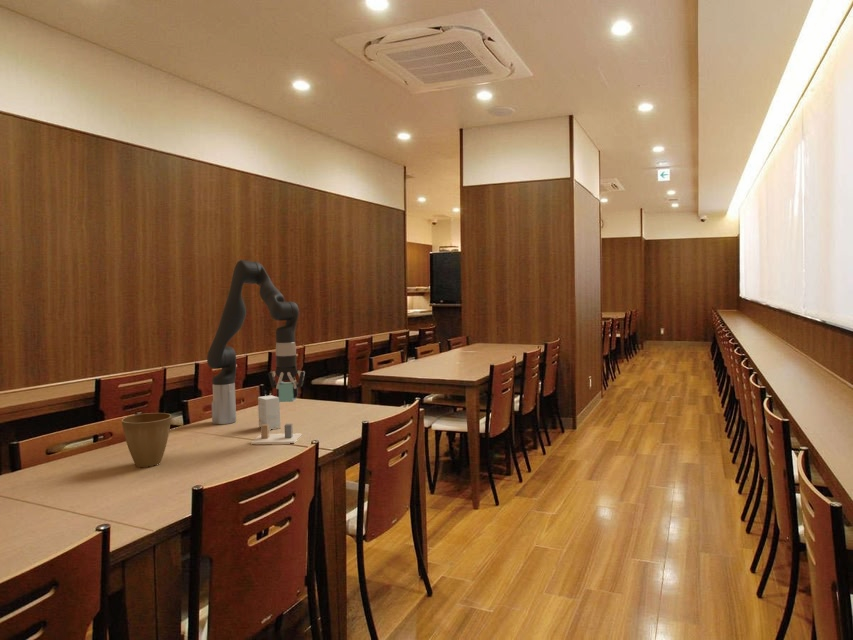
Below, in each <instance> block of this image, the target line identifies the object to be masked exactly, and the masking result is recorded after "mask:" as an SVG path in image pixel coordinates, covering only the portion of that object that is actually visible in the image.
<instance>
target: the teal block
mask: <svg viewBox="0 0 853 640" xmlns="http://www.w3.org/2000/svg"><path fill="white" fill-rule="evenodd" d="M293 389H294V387H293V384H292V383H291V381H287V382H286V381H283V383H281V384H279V402H280V403H288V402H289V403H291V402H294V401H296V400H297V398H294V391H293Z"/></svg>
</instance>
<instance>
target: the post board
mask: <svg viewBox="0 0 853 640" xmlns="http://www.w3.org/2000/svg"><path fill="white" fill-rule="evenodd" d="M301 435H302V432H299V433H294V432H293V423H285V424H284V433H270V430H269V424H263V425H261V428H260V434H259V435H258V436H257V437H256V438H254V440H252V441H251V445H252V444H272V445H291V444H290V443H295V442H296V441H298V440H299V439H300V438H301V437H302V436H301ZM300 436H301V437H300ZM299 437H300V438H299ZM298 438H299V439H298ZM297 439H298V440H297ZM296 443H297V442H296ZM296 443H295V444H296Z"/></svg>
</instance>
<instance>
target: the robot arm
mask: <svg viewBox="0 0 853 640" xmlns="http://www.w3.org/2000/svg"><path fill="white" fill-rule="evenodd" d="M244 284H251V285H254V284H255V285H258V286H259V296H260V298H261V300H262V301H263V302H264V304H266V306H267V309H268V311H269V315H270V317H271V318H272V319H274V321H275V320H276V321H280V322H281V321H285V323H284V324H283V325H282V326H279V327H277V328H276V329H275V364H276V366H275V367H276V368H275V370H274V371H269V372H267V375H268V379H269V383H270V386H271V388H272V389H273V388H275V389H276V397H279V384H281V383H283V382H286V381H287V382H291V383H292V384H293V387H294V389H293V391H294V398H296V399H297V398H298V396H299V388H301V387H303V385H304V380H305V374H306V371H305V370H299V369H298V367H297V365H298V364H297V345H296V327H297V323H298V318H299V314H300V309H299V305H298V304H297V303H296V302H295V301H285V296H284V294H283V293H281V291H280V290H279V289H278V288H277V287H276V286H275V285H274V283H273V281H272V279H271V278H270V276H269V274H268V273H267V271H266V268H265V267H264V265H263V264H261V263H260V262H258V261H252V260H243V259H242V260H238V261H237V262H236V263H235V266H234V269H233V273H232V276H231V282H230V287H229V291H228V295H227V298H226V301H225V304H224V306H223V311H222V314H221V317H220V321H219V324H218V327H217V329H216V332H215V334H214V335H215V336H214V337H213V340H212V343H211V345H210V347H209V349H208V352H207V357H206V361H207V362H206V363H207V365H208V366H209V367H208V368H210V369H213V370H214V369H215V370H216V369H217V370H221V371H220V372H219V373H217V375H214V376H213V378H212V380H211V381H212V401H211V421H212V422H211V424H212V425H213V424H215V425H227V424H233V423H235V422H236V421H237V409H236V408H237V407H236V406H237V405H236V402H237V401H236V383H235V380H236V376H237V355H236V351H235V349H234V348H233V347H232V346H230V345H229V346H227V345H228V343H229V342H230V340H231V339H232V338H233V337H234V336H235V335H236V334H237V333H238V332H239V331H241V329H242V327H243V325H244V323H245V322H244V321H245V319H246V315H247V307H246V304H245V302H244V299H243V295H242V294H243V293H242V292H243V291H242V290H243V286H244ZM297 374H298V377H299V379H298V382H297V379H296V376H297ZM275 376H277V377H278V380H277V383H276V379H275Z"/></svg>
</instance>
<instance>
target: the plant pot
mask: <svg viewBox="0 0 853 640" xmlns="http://www.w3.org/2000/svg"><path fill="white" fill-rule="evenodd" d="M171 421H172V414H170V413H166V412H149V413H138V414H132V415H129V416H125V417H123V418H122V419H121V426H122V430H123V434H124V438H125V442H126V445H127V447H128V451H129V453H130V456H131V459H132V461H133V463H134V465H135V467H136V468H140V467H146V468H148V467H147V466H153V465H156V466H158V465H160V464H161V462H162V460H163V456H164V455H165V451H166V447H167V443H168V439H169V434H170V428H171V423H172V422H171ZM159 463H160V464H159ZM157 464H158V465H157ZM153 467H154V466H153Z"/></svg>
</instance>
